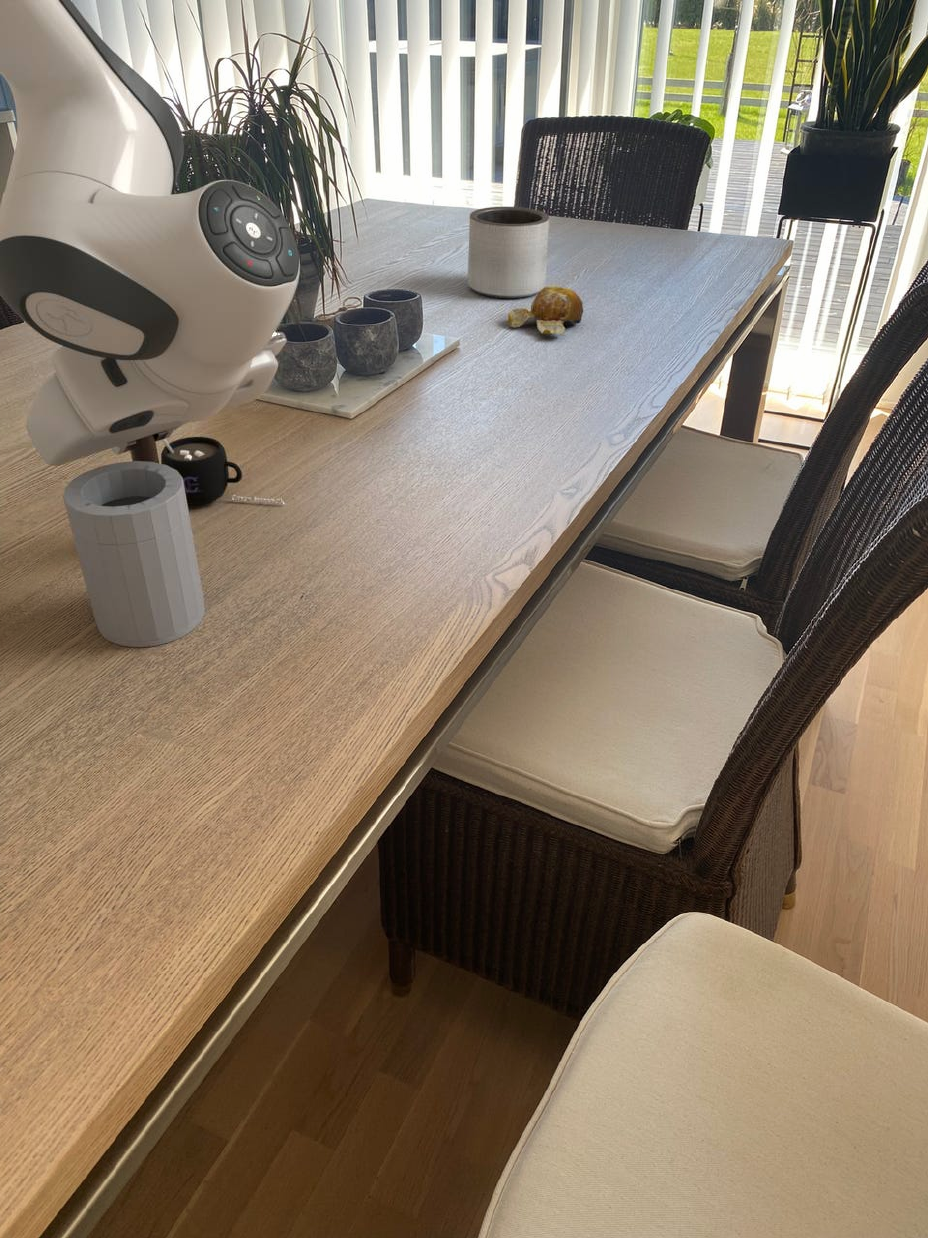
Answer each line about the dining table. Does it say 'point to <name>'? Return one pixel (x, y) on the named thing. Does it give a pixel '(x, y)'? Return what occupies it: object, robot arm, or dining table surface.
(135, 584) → the gray cylindrical container
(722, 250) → the dining table surface
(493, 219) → the planter
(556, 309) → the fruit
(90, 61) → the robot arm
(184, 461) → the mug
